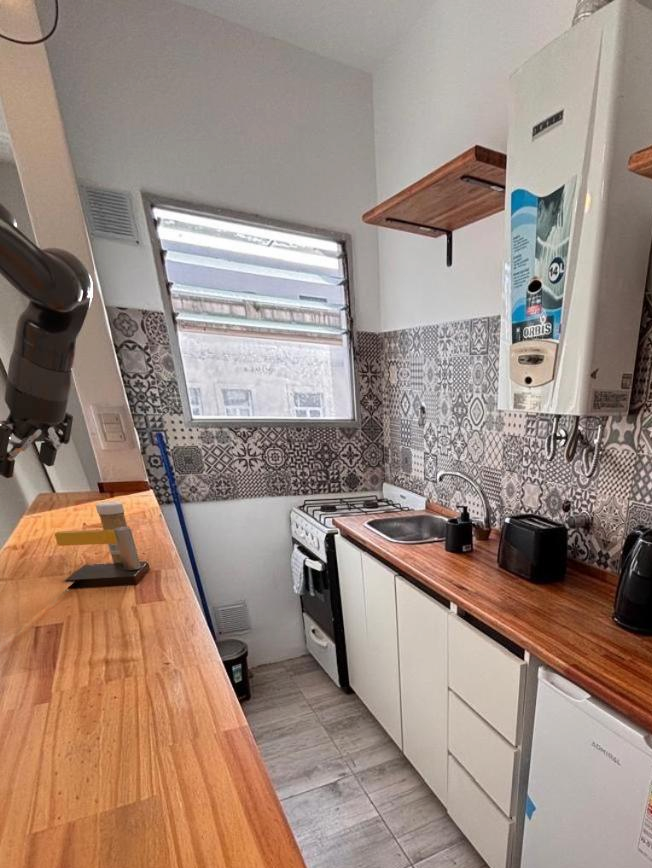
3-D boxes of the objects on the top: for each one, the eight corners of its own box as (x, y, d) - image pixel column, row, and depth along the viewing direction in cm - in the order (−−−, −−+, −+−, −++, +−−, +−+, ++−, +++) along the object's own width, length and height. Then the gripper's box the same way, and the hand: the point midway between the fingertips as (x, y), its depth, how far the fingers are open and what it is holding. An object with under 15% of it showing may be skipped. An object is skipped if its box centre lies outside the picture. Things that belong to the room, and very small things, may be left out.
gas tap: (65, 574, 99) (52, 532, 96) (71, 569, 102) (58, 529, 98) (138, 570, 103) (128, 529, 99) (142, 565, 105) (132, 526, 102)
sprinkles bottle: (143, 564, 112) (127, 501, 106) (127, 570, 108) (109, 505, 102) (125, 562, 113) (108, 500, 107) (108, 568, 109) (89, 504, 103)
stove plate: (67, 589, 97) (64, 579, 97) (87, 573, 106) (84, 564, 105) (136, 584, 101) (134, 575, 100) (150, 569, 109) (147, 560, 108)
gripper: (52, 366, 87) (37, 448, 95) (-27, 372, 75) (-36, 465, 83) (95, 394, 89) (78, 472, 97) (25, 404, 77) (11, 492, 85)
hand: (25, 469), depth 90 cm, fingers open, 8 cm apart
